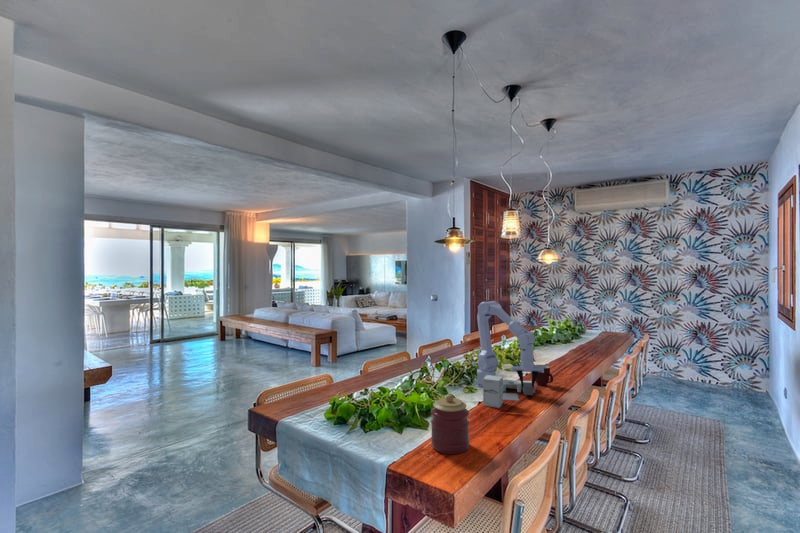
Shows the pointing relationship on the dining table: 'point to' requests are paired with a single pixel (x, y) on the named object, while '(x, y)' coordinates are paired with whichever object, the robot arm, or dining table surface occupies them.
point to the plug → (527, 388)
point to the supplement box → (492, 391)
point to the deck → (510, 396)
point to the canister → (450, 426)
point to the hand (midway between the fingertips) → (527, 387)
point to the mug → (543, 376)
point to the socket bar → (514, 385)
